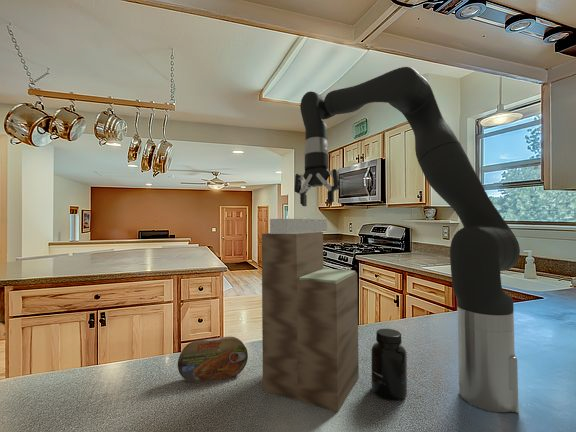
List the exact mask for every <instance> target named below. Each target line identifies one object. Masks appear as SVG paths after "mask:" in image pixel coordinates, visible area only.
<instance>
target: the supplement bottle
mask: <svg viewBox="0 0 576 432" xmlns="http://www.w3.org/2000/svg"><path fill="white" fill-rule="evenodd" d="M375 333H376V334H375V335H376V337H375V341H376V342H375V343H374V344H373V345H372V346H371V351H370V352H371V354H370V356H371V357H370V359H371V360H370V361H371V362H370V363H371V366H370V367H371V375H370V376H371V378H370V380H371V390H372V392H373V393H374V394H375V396H377V397H378V398H381V399H382V400H385V401H392V402H395V401H401V400H403V399H405V398H406V397H407V395H408V394H407V393H408V352H407V350H406V348H405V347H404V346H403V345H402V343H403V341H402V332H400V331H399V330H396V329H393V328H379V329H377V330H376V332H375Z"/></svg>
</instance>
